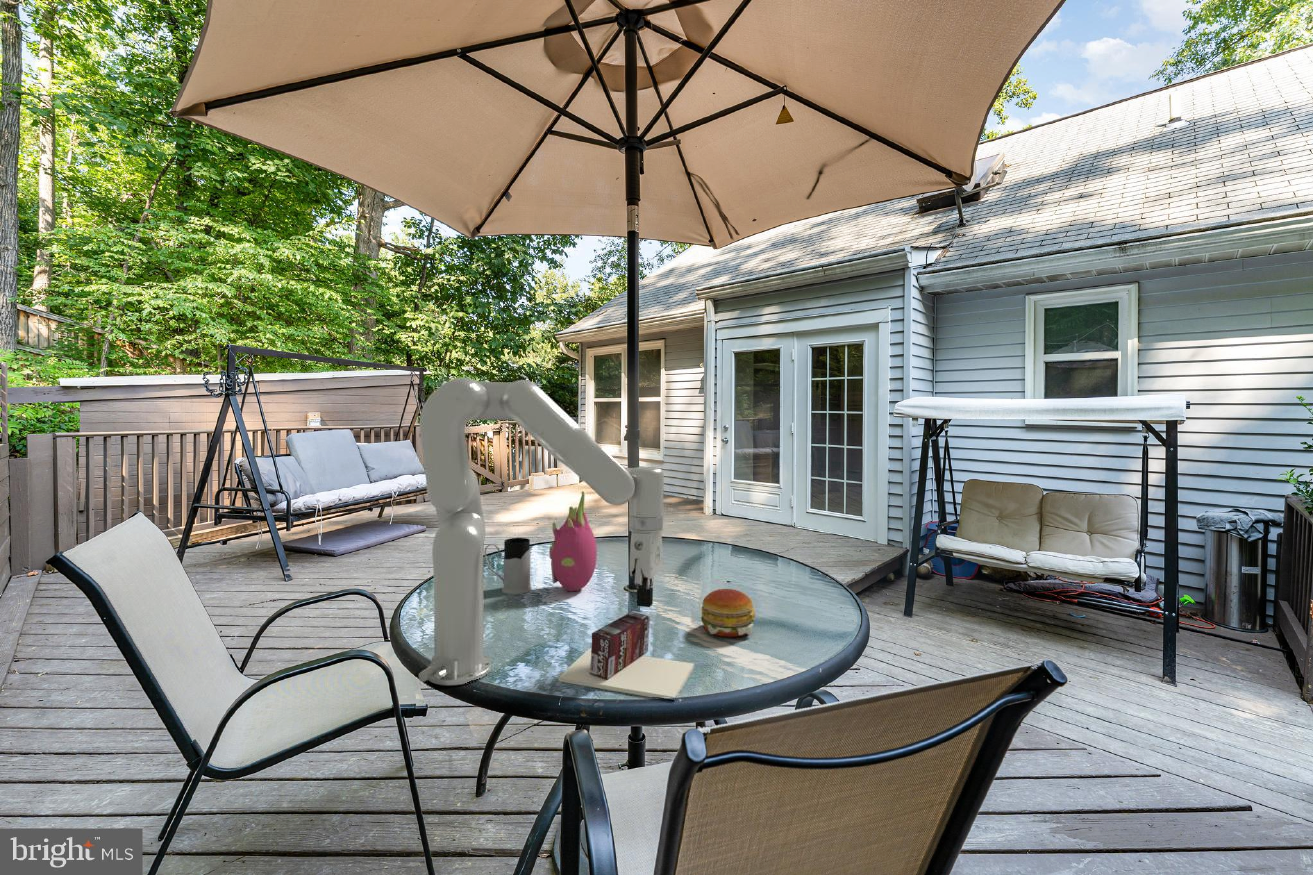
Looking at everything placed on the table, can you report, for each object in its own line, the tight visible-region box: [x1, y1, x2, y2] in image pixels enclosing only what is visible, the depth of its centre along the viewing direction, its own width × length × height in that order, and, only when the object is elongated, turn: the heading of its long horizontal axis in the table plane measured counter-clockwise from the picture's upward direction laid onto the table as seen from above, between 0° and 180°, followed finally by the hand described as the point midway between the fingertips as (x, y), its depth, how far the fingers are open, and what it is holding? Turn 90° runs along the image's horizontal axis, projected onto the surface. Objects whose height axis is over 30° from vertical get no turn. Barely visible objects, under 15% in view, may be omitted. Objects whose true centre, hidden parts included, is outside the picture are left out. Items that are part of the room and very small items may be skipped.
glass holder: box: [484, 537, 533, 595], centre depth 170 cm, size 9×14×15 cm, turn 89°
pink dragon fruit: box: [549, 490, 598, 592], centre depth 170 cm, size 18×14×30 cm
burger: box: [700, 588, 756, 638], centre depth 139 cm, size 13×14×10 cm
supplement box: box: [590, 610, 651, 680], centre depth 118 cm, size 9×5×16 cm
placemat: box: [557, 647, 695, 698], centre depth 115 cm, size 15×24×1 cm, turn 72°
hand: (644, 605), depth 125 cm, fingers closed
